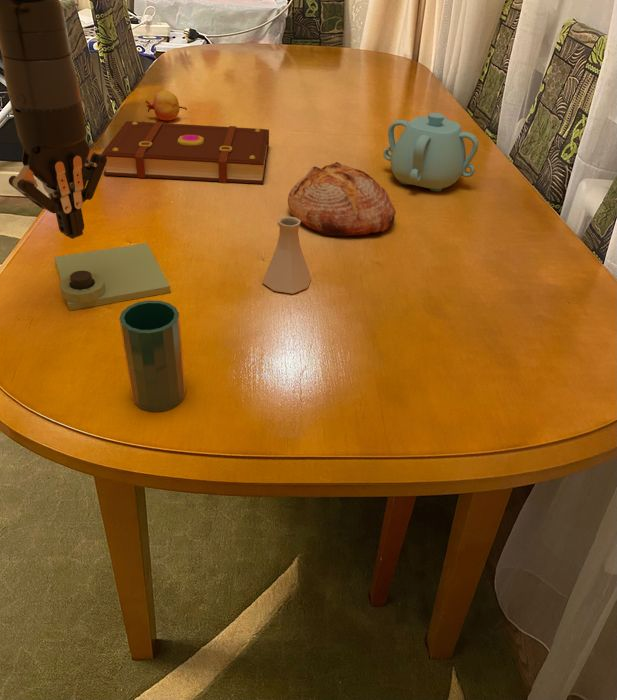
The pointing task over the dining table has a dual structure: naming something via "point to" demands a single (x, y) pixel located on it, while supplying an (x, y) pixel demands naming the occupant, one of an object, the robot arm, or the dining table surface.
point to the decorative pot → (430, 152)
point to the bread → (341, 202)
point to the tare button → (81, 280)
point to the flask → (288, 260)
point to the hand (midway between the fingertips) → (73, 235)
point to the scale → (112, 276)
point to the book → (188, 152)
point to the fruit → (165, 105)
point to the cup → (153, 354)
